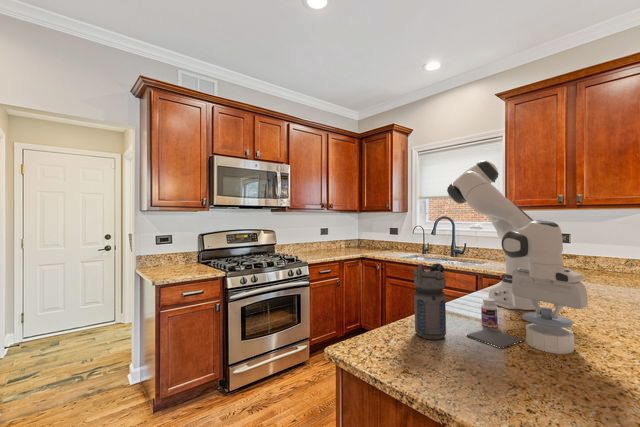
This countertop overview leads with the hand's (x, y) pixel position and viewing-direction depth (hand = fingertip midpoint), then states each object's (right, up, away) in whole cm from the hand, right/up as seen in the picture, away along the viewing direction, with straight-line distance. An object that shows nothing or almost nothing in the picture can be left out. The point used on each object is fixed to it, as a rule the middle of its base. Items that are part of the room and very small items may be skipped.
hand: (546, 316), depth 99 cm
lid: (0, -1, 0) cm, 1 cm away
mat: (-13, -10, +6) cm, 17 cm away
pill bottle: (-8, -10, +19) cm, 23 cm away
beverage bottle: (-32, -10, +10) cm, 36 cm away
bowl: (0, -9, 0) cm, 9 cm away
